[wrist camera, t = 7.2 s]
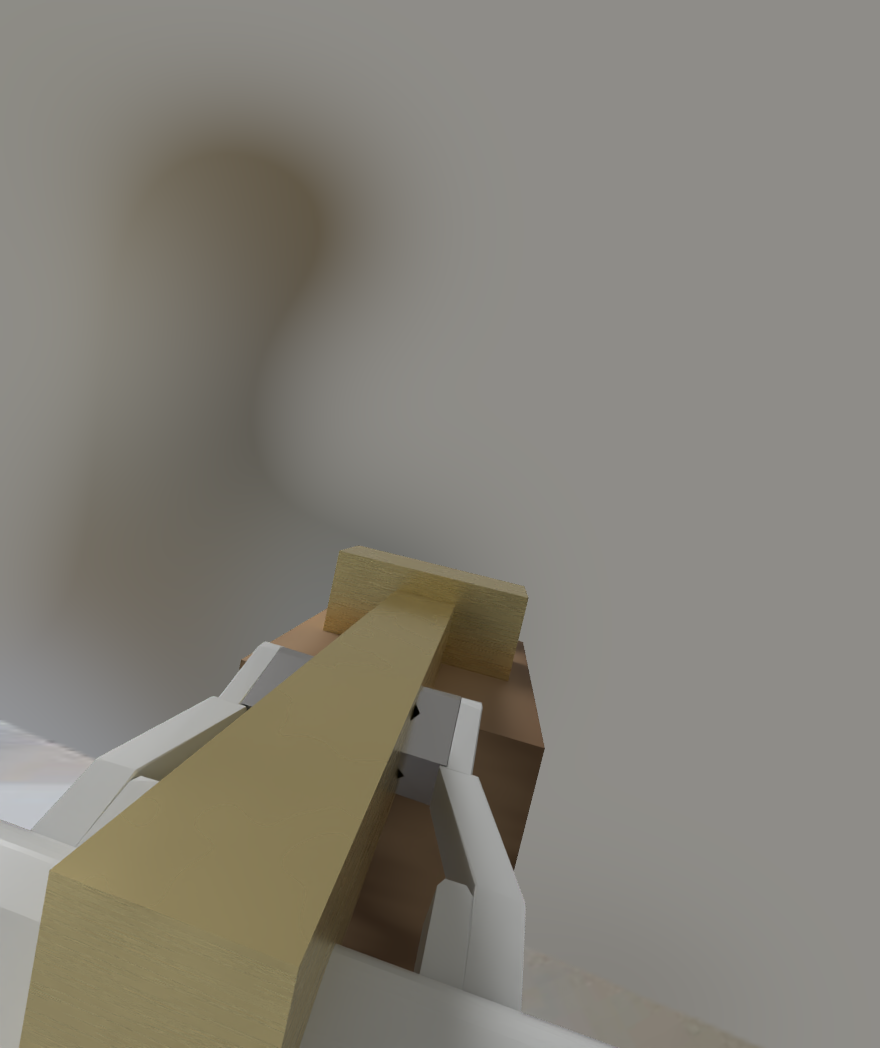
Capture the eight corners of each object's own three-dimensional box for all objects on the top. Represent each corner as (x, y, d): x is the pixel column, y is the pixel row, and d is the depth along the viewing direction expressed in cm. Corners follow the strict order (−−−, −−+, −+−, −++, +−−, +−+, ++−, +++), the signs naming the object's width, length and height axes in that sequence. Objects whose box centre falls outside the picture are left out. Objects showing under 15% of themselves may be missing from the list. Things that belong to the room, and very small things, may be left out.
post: (108, 1329, 15) (255, 586, 14) (260, 1007, 25) (357, 553, 23) (364, 1464, 14) (564, 668, 12) (418, 1070, 24) (533, 597, 22)
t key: (-211, 1002, 4) (-170, 686, 4) (344, 615, 20) (359, 545, 20) (551, 1365, 3) (662, 977, 3) (506, 659, 19) (524, 586, 19)
